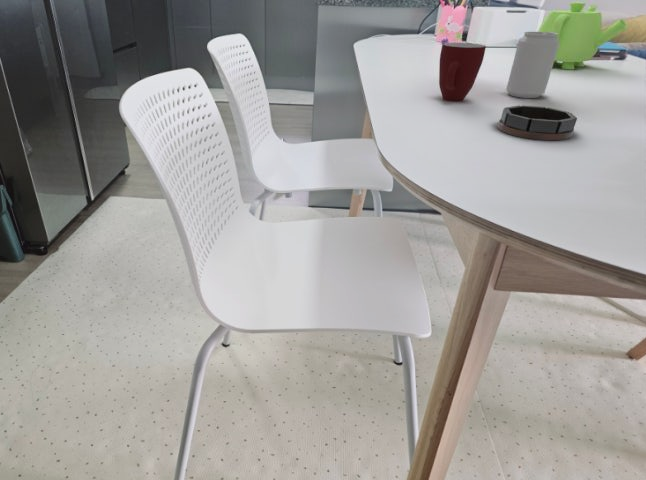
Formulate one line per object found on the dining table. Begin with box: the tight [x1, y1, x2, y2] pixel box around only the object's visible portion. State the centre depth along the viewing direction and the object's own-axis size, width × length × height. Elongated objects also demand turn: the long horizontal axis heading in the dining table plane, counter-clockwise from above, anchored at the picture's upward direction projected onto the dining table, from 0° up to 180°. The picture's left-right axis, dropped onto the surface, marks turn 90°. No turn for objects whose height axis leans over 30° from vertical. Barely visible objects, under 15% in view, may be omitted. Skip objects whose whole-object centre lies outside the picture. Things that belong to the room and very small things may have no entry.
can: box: [505, 31, 560, 99], centre depth 96 cm, size 8×8×12 cm
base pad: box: [497, 104, 578, 141], centre depth 75 cm, size 11×11×3 cm
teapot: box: [537, 1, 628, 70], centre depth 130 cm, size 25×22×16 cm
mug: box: [438, 42, 487, 102], centre depth 92 cm, size 11×8×10 cm
